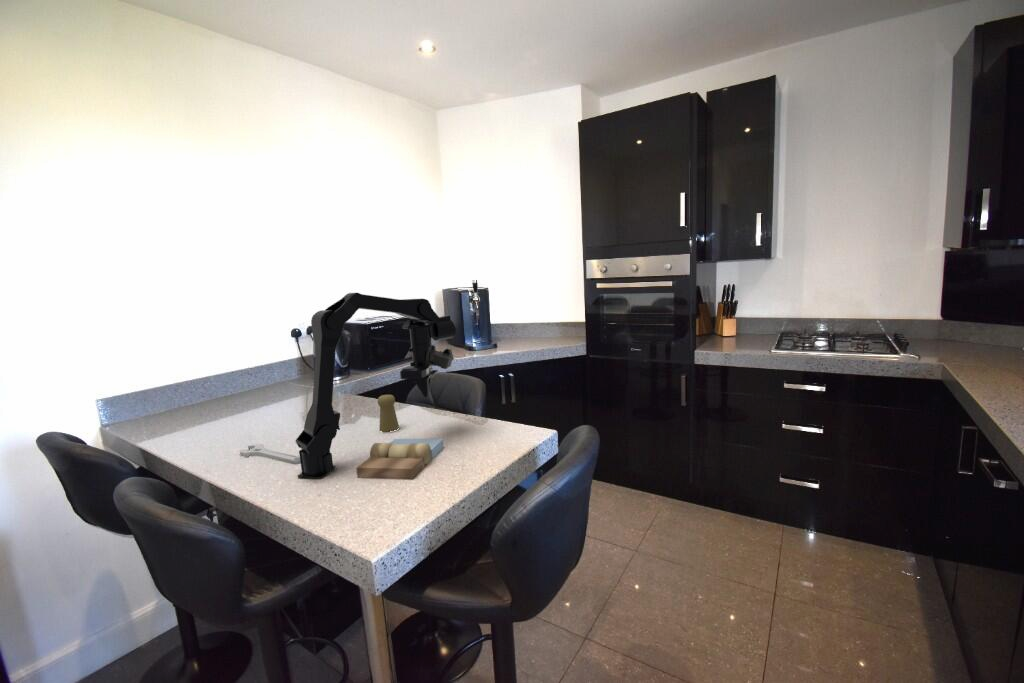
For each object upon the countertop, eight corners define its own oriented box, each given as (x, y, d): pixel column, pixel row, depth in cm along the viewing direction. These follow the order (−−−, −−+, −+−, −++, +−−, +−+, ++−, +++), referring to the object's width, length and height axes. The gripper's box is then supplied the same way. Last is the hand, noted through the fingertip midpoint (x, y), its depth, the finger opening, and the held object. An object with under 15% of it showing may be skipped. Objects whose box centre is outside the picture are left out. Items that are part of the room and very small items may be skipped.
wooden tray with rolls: (357, 477, 107) (355, 457, 107) (380, 458, 118) (378, 440, 118) (412, 479, 104) (410, 458, 104) (431, 459, 115) (429, 440, 115)
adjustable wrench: (306, 463, 120) (306, 456, 120) (283, 472, 115) (282, 465, 115) (258, 448, 134) (257, 442, 134) (235, 455, 129) (234, 449, 129)
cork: (384, 434, 138) (380, 399, 136) (376, 430, 143) (372, 395, 141) (402, 429, 142) (399, 394, 140) (394, 425, 146) (390, 391, 145)
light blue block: (372, 466, 114) (370, 447, 113) (396, 447, 126) (394, 430, 126) (424, 467, 111) (422, 448, 110) (443, 447, 123) (442, 430, 123)
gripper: (435, 347, 118) (441, 405, 121) (458, 337, 136) (463, 388, 139) (396, 348, 121) (402, 405, 123) (424, 338, 139) (428, 388, 141)
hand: (426, 396), depth 131 cm, fingers closed
